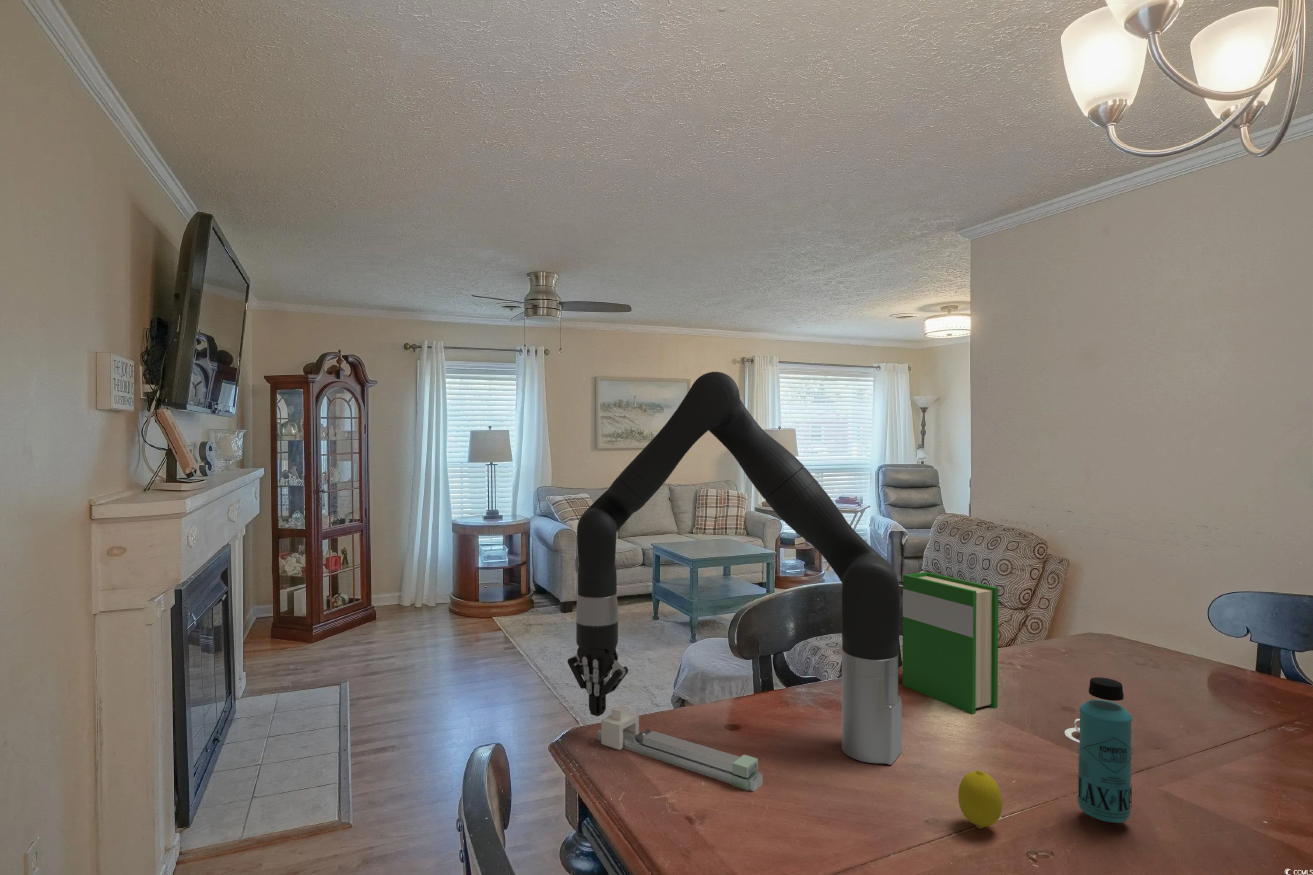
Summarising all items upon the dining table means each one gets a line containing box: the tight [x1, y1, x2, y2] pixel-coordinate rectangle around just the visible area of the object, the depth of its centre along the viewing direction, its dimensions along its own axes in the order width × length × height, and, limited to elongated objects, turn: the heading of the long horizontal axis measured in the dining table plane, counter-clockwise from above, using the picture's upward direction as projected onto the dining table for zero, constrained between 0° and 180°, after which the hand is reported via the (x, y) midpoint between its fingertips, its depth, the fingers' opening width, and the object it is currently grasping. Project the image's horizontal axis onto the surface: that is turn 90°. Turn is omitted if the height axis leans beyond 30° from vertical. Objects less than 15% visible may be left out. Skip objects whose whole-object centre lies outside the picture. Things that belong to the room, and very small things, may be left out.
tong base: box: [596, 728, 764, 792], centre depth 116 cm, size 31×4×3 cm, turn 55°
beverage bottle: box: [1076, 676, 1133, 824], centre depth 98 cm, size 6×7×20 cm
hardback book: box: [901, 571, 999, 715], centre depth 145 cm, size 18×7×24 cm, turn 27°
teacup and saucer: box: [1064, 718, 1080, 744], centre depth 125 cm, size 9×8×4 cm
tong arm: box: [643, 730, 759, 778], centre depth 114 cm, size 20×4×2 cm, turn 55°
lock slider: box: [600, 704, 640, 751], centre depth 123 cm, size 4×6×6 cm
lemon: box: [957, 769, 1003, 830], centre depth 97 cm, size 6×6×8 cm
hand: (597, 713), depth 126 cm, fingers closed
